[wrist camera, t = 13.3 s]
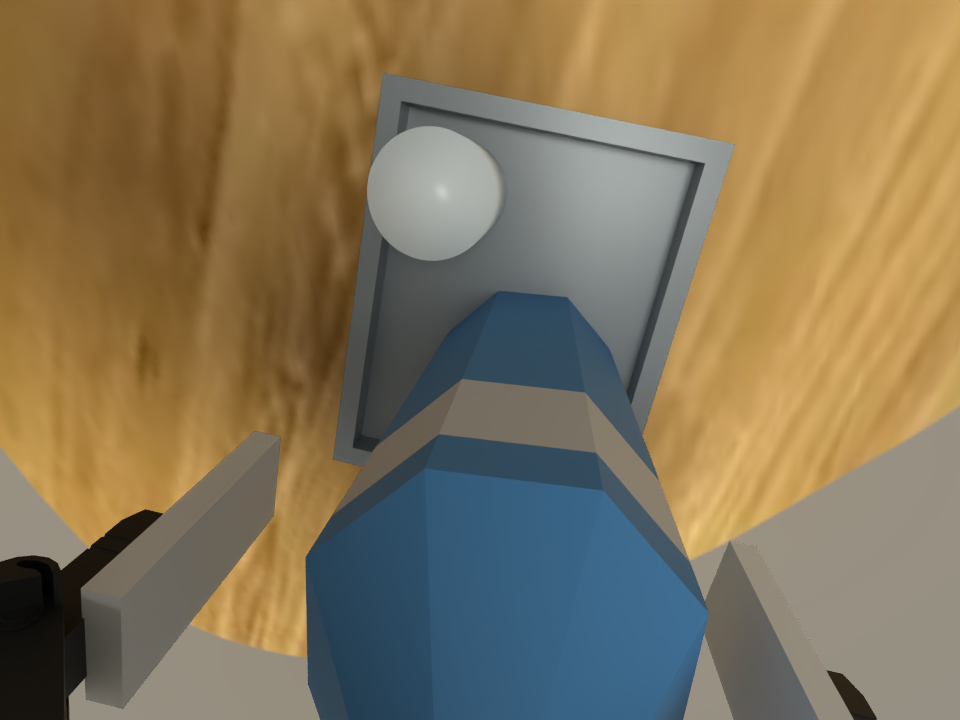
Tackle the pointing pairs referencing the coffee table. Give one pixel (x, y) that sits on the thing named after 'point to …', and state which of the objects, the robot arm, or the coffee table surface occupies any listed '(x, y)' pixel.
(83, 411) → the coffee table surface
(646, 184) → the tray
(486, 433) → the water bottle
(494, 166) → the white rounded column
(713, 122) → the coffee table surface
